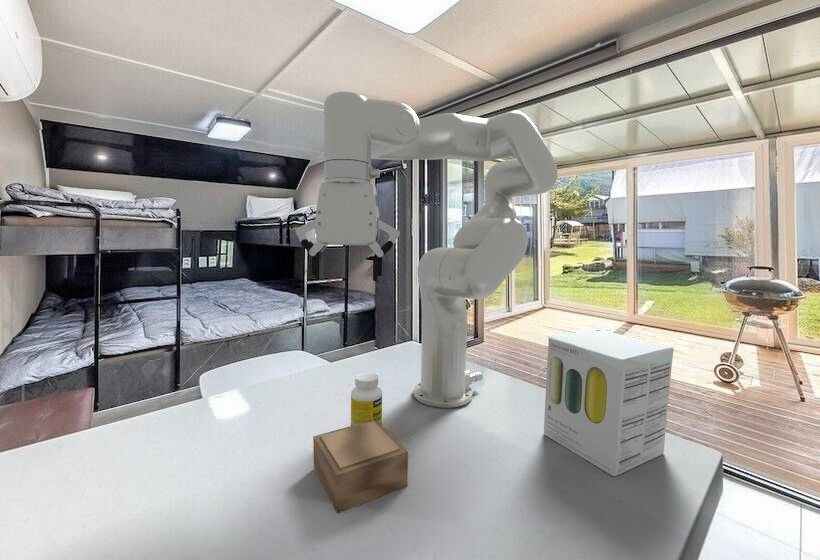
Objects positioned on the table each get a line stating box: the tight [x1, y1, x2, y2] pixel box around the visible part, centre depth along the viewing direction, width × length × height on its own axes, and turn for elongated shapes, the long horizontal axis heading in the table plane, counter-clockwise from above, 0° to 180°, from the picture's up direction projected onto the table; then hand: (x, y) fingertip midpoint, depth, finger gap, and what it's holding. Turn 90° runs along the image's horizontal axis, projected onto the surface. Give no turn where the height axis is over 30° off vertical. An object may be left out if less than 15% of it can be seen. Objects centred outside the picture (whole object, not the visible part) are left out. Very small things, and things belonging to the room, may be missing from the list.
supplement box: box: [543, 328, 675, 477], centre depth 59 cm, size 13×13×18 cm
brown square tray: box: [312, 419, 409, 514], centre depth 51 cm, size 10×10×5 cm
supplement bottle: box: [350, 372, 383, 426], centre depth 63 cm, size 5×5×10 cm
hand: (347, 279), depth 61 cm, fingers open, 9 cm apart
